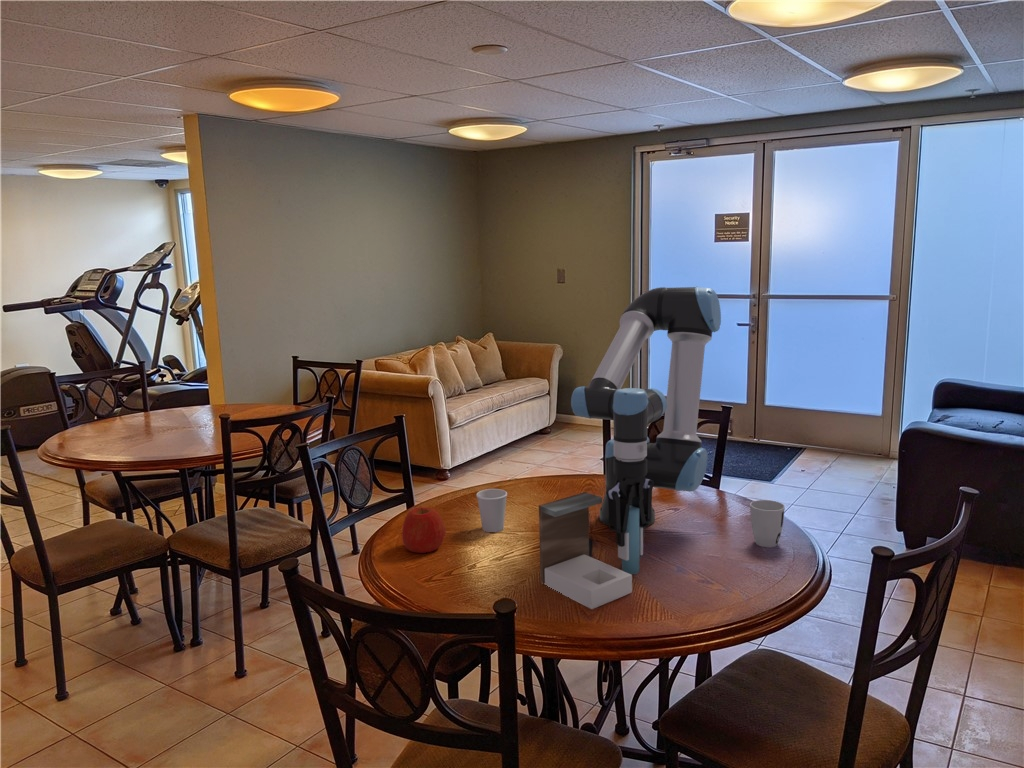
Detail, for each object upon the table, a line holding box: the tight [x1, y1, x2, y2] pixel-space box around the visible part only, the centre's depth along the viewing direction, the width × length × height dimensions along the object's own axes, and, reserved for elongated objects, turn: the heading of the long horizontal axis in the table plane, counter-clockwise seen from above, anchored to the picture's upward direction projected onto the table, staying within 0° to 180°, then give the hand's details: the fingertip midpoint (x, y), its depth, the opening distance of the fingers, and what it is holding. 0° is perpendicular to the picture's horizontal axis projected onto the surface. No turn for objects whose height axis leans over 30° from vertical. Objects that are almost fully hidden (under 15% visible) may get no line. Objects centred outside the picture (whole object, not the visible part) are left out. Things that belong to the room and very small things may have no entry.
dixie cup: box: [475, 488, 508, 533], centre depth 199 cm, size 8×8×10 cm
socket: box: [544, 554, 633, 610], centre depth 161 cm, size 15×12×4 cm
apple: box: [401, 506, 446, 554], centre depth 187 cm, size 11×11×11 cm
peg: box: [621, 506, 640, 575], centre depth 169 cm, size 4×4×15 cm
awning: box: [538, 491, 603, 585], centre depth 166 cm, size 6×14×18 cm, turn 128°
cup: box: [749, 499, 786, 548], centre depth 183 cm, size 8×8×10 cm
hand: (630, 555), depth 170 cm, fingers closed on peg, 4 cm apart
